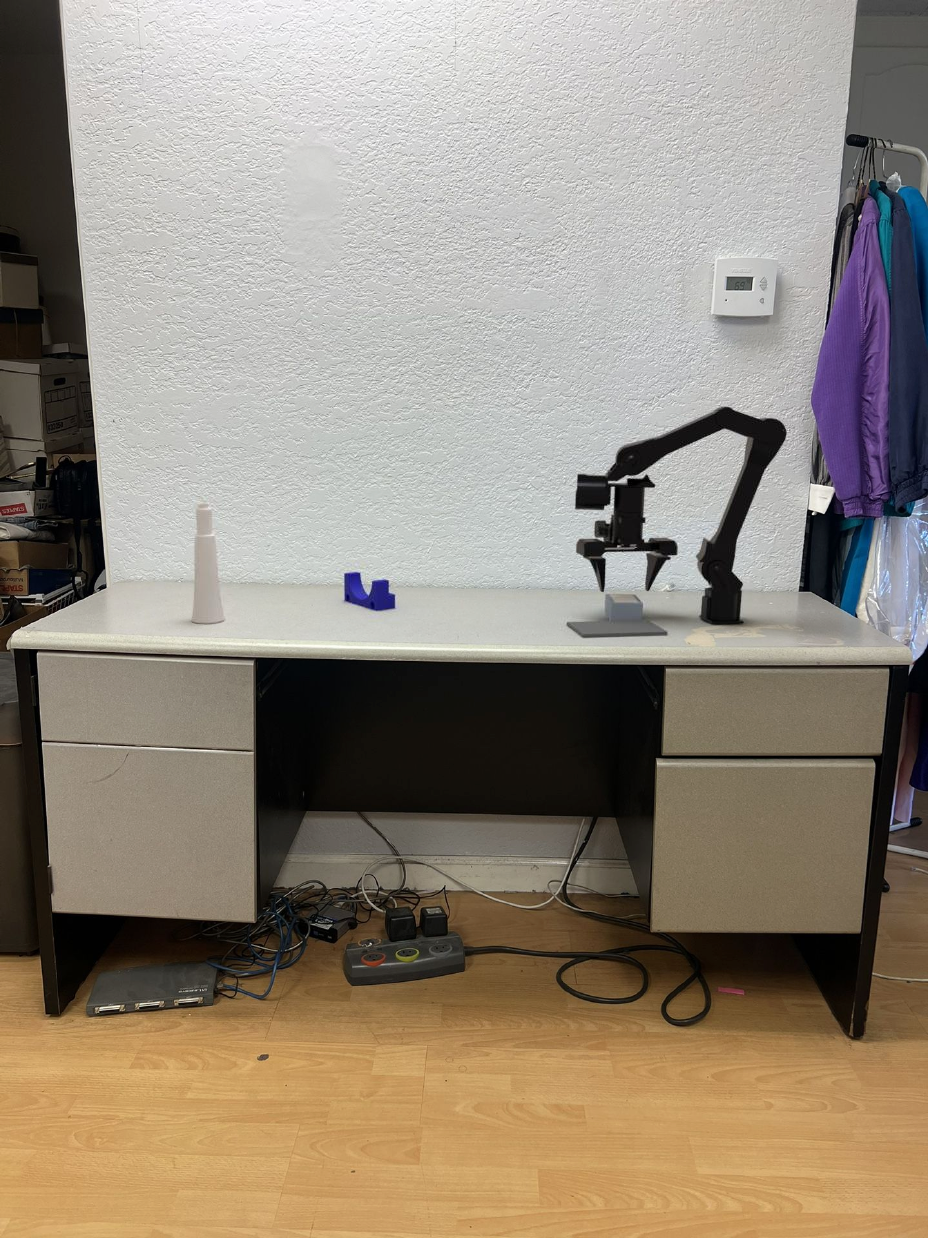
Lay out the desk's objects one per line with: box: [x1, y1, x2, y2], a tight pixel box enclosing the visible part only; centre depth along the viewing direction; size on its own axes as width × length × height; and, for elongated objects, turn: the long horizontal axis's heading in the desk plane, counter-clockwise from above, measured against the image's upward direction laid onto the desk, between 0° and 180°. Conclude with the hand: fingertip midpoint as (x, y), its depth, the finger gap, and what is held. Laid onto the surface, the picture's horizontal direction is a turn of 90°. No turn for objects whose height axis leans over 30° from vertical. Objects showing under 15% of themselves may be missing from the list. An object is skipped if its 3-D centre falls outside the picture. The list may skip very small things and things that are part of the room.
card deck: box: [604, 593, 644, 621], centre depth 194 cm, size 6×9×4 cm, turn 0°
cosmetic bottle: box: [191, 501, 226, 625], centre depth 184 cm, size 6×6×22 cm
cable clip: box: [343, 571, 396, 612], centre depth 203 cm, size 12×4×6 cm, turn 38°
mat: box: [566, 619, 669, 638], centre depth 184 cm, size 16×10×1 cm, turn 101°
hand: (624, 591), depth 194 cm, fingers open, 9 cm apart
